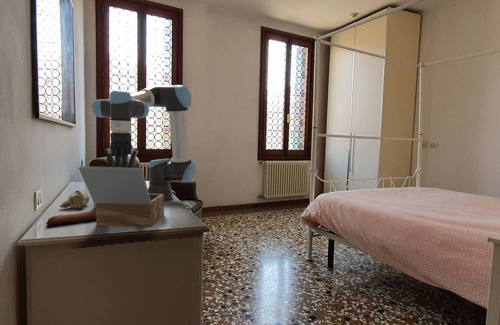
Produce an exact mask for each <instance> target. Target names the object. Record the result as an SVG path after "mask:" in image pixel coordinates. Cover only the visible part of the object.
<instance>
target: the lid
mask: <svg viewBox="0 0 500 325" xmlns="http://www.w3.org/2000/svg"><path fill="white" fill-rule="evenodd" d="M78 170H79V172H80V175H81V177H82V179H83V182H84V185H85V186H86V187H87V190H88V193H89V195H90V197H91V199H92V202H94V203H110V204H143V205H151V200H150V196H149V192H148V186H147V182H146V178H145V175H144V171H143V168H142V167H133V168H125V167H122V166H121V167H109V166H89V165H87V166H86V165H85V166H84V165H80V166H79V167H78Z"/></svg>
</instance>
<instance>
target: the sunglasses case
mask: <svg viewBox="0 0 500 325" xmlns="http://www.w3.org/2000/svg"><path fill="white" fill-rule="evenodd" d="M92 220H93V221H96V211H81V212H76V213H69V214H57V215H54V216H52V217H49V218H48V219H47V220H46V223H45V224H46V227H47V228H49V227H55V226H60V225H65V224H69V223H79V222H85V221H87V222H88V221H92Z"/></svg>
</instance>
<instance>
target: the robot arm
mask: <svg viewBox="0 0 500 325" xmlns="http://www.w3.org/2000/svg"><path fill="white" fill-rule="evenodd" d="M191 104H192V95H191V92H190V90H189V89H188V87H187V86H186V85H182V84H170V85H169V84H168V85H167V84H165V85H164V84H163V85H162V84H161V85H159V84H158V85H154V86H149V87H146V88H141V89H139V91H138V92H137V91H136V92H133V93H131V92H130V91H123V90H112V91H111V92H110V93H109V98H107V99H103V98H101V99H96V100H94V101H93V102H92V105H91V109H92V112H93V115H94V116H95V117H96V118H97V117H98V118H103V119H105V118H110V119H109V124H110V125H109V127H110V129H109V130H110V131H111V132H110V141H109V142H110V145H109V147H108V148H107V149H104V150H103V153H104V154H105V156H106V157H105V158H106V159H107V160H106V161H107V163H108V164H107V165H108V167H125V168H135V167H134V166H135V162H136V158H137V155H138V154H139V150H138V149H137V150H136V149H135V148H134V147H133V143H132V139H133V138H132V133H131V132H132V119H138V120H139V119H145V118H146V117H147V116H148V115H149V113H150V112H149V111H150V108H151V107H152V108H154V107H155V108H165V112H166V113H167V114H168V116H169V127H170V128H169V129H170V138H171V139H170V140H171V151H172V157H171V158H163V159H154V160H153V159H152V160H150V161H149V164H148V165H149V166H148V187H147V189H148V192H149V194H164V201H170V200H172V199H173V198H174V196H173V191H172V188H171V182H172V183H173V182H177V183H190V182H192V181H193V179H194V177H195V174H196V170H197V169H196V168H197V167H196V163H195V162H193V161H192V158H191V157H190V156H189V148H188V135H187V134H188V133H187V132H188V131H187V119H186V113H187V112H188V111H189V109H188V108H190V107H191ZM113 154H114V156H113ZM129 154H130V157H129ZM128 159H129V162H128Z"/></svg>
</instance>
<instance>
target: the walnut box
mask: <svg viewBox="0 0 500 325" xmlns="http://www.w3.org/2000/svg"><path fill="white" fill-rule="evenodd" d="M149 196H150V200H151V205H143V204H110V203H96V208H95V213H96V220H95V223H96V224H95V225H96V226H107V227H133V228H134V227H138V228H152V227H153V226H154V225H155V224H157V223H158V222H159V221H160V219H162V218H163V217H164V216H165V200H164V194H149Z"/></svg>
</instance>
